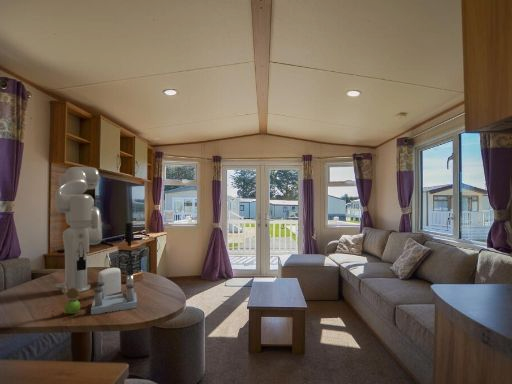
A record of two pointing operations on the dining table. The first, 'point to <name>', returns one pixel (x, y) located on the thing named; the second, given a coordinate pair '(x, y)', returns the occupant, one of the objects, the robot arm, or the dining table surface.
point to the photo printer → (110, 280)
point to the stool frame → (113, 300)
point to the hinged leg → (129, 279)
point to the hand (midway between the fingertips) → (81, 269)
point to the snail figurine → (71, 300)
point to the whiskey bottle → (129, 256)
